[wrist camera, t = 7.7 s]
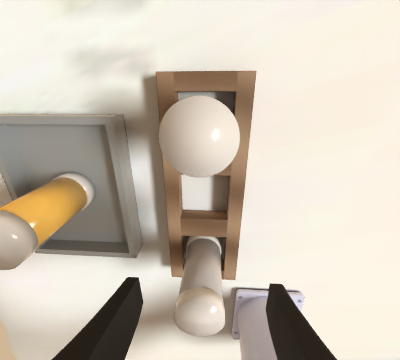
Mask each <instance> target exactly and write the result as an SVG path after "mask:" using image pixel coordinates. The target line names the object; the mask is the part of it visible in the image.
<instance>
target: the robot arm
mask: <svg viewBox="0 0 400 360" xmlns="http://www.w3.org/2000/svg"><path fill="white" fill-rule="evenodd" d="M304 298H305V297H304V295H303V293H300V292H287V291H286V289H285V288H284V286H283V285H282V284H270V286H269V291H264V290H247V289H238V290H237V291H236V298H235V307H234V317H233V326H232V338H233V339H239V340H240V350H241V359H242V360H337V359H336V358H335V357H334V355H333V354H332V353H331V352H330V350H329V349H328V348H327V347H326V345H325V344H324V343H323V342H322V340H321V339H320V338H319V336H318V335H317V334H316V332H315V331H314V330H313V328H312V327H311V326H310V324H309V323H308V321H307V320H306V319H305V317H304V316H303V314H302V313H301V312H300V311H301V308H302V305H303V301H304ZM142 305H143V299H142V293H141V288H140V283H139V278H136V277H128V278H126V280H125V281H124V282H123V283H122V284H121V286H120V287H119V288H118V289H117V291H116V292H115V293H114V294H113V295H112V297H111V298H110V299H109V300H108V301H107V302H106V304H105V305H104V306H103V307H102V308H101V309H100V310H99V312H98V313H97V314H96V315H95V316H94V317H93V318H92V319H91V320H90V322H89V323H88V324H87V325H86V326H85V327H84V328H83V329H82V330H81V331H80V332H79V333H78V334H77V335H76V336H75V337H74V338H73V339H72V340H71V341H70V342H69V343H68V344H67V345H66V346H65V347H64V348H63V349H62V350H61V351H60V352H59V353H58V354H57V355H56V356H55V357H54V358H53V359H52V360H125V357H126V354H127V352H128V349H129V346H130V344H131V341H132V338H133V335H134V333H135V330H136V327H137V324H138V321H139V317H140V313H141V309H142Z"/></svg>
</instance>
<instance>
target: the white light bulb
mask: <svg viewBox="0 0 400 360" xmlns="http://www.w3.org/2000/svg"><path fill="white" fill-rule="evenodd" d="M239 142H240V132H239V127H238V123H237V121H236V119H235V117H234V115H233V114H232V112H231V111H230V110H229V109H228V108H227V107H226V106H225V105H224V104H223V103H221V102H220V101H218V100H216V99H214V98H211V97H207V96H191V97H187V98H184V99H182V100H180V101H178V102H176V103H175V104H174V105H172V106H171V107H170V108H169V109H168V111H167V112H166V113H165V115H164V117H163V119H162V121H161V124H160V128H159V144H160V148H161V151H162V153H163V155H164V157H165V159H166V160H167V161H168V163H169V164H170V165H171V166H172V167H173V168H174V169H176V170H177V171H179V172H180V173H183V174H185V175H188V176H191V177H209V176H212V175H215V174H217V173H219V172H221V171H222V170H224V169H225V168H226V167H227V166H228V165H229V164H230V163H231V162H232V161H233V159H234V157H235V156H236V153H237V151H238V147H239Z"/></svg>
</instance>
